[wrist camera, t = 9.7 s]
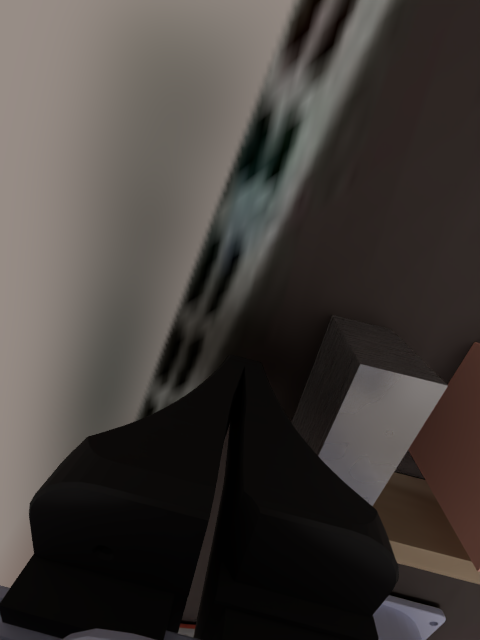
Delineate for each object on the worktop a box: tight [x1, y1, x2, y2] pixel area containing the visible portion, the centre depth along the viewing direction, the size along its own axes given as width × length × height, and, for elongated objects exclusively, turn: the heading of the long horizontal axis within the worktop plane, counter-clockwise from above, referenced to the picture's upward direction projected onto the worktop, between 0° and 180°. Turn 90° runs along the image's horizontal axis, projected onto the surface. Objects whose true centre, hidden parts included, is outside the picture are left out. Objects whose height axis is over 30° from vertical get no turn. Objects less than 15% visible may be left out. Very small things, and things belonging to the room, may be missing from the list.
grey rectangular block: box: [292, 315, 448, 506], centre depth 11 cm, size 6×2×4 cm, turn 168°
